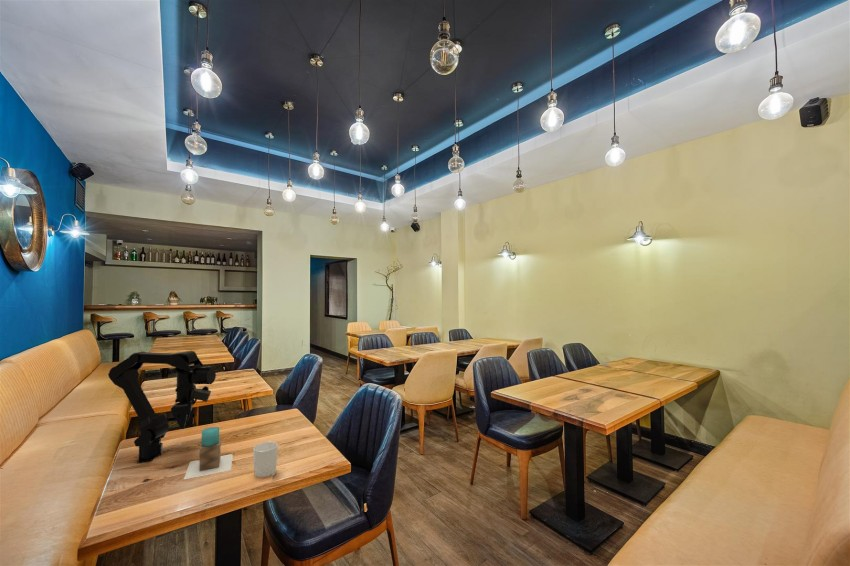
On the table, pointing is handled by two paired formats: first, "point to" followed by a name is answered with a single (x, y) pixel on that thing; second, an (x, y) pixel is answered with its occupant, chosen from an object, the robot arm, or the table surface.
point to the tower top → (210, 451)
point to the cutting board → (194, 469)
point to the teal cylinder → (210, 436)
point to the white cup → (265, 459)
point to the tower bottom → (209, 463)
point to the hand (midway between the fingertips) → (184, 424)
